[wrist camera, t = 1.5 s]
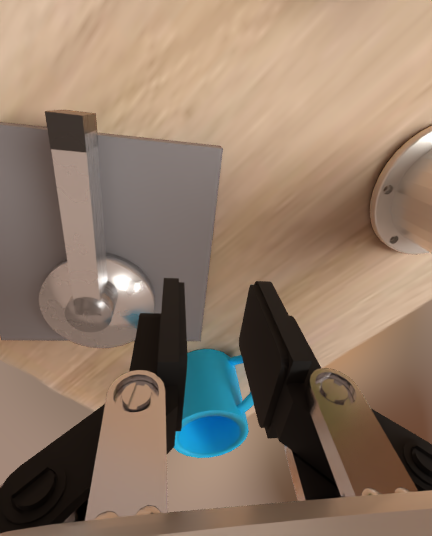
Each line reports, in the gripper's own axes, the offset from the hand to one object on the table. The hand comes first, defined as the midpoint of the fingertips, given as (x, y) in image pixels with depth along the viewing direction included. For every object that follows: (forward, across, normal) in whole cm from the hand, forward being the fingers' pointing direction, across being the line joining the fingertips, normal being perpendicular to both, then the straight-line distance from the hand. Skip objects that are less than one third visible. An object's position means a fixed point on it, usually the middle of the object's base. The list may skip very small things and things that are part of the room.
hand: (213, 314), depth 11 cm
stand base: (+17, +8, +6) cm, 20 cm away
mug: (+17, -5, +22) cm, 28 cm away
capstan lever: (+16, +8, +5) cm, 18 cm away
